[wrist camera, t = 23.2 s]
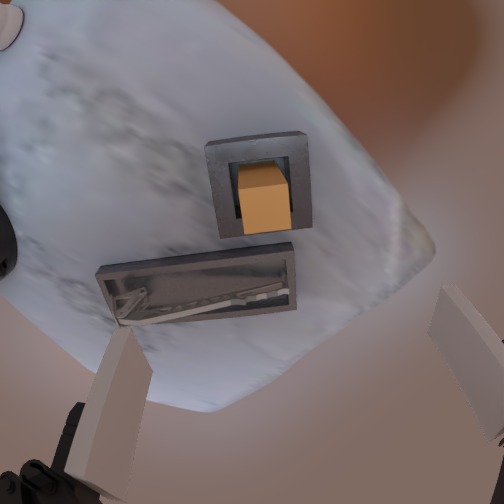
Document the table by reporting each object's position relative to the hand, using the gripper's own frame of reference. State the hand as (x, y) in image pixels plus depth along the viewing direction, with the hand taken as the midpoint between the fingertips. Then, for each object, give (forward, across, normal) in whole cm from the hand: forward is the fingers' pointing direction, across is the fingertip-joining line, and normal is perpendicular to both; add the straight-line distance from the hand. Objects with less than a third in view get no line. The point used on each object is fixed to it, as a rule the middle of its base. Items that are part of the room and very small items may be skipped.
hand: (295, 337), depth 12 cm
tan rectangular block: (+25, 0, 0) cm, 25 cm away
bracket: (+24, -10, -13) cm, 29 cm away
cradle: (+25, -10, -13) cm, 30 cm away
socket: (+25, 0, 0) cm, 25 cm away
